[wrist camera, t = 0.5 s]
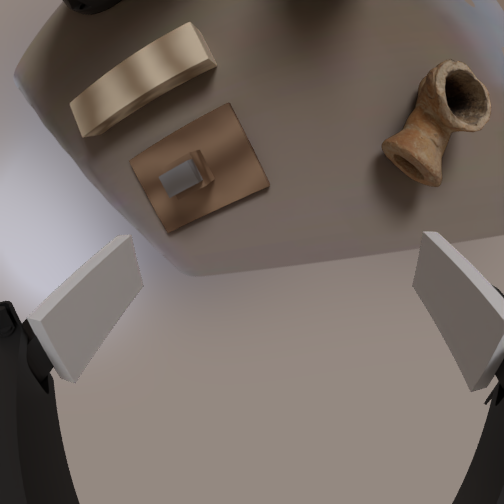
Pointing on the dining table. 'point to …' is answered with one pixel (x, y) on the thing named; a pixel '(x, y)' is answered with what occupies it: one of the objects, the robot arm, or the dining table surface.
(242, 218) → the dining table surface
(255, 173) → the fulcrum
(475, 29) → the dining table surface
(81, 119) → the beech bar
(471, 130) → the pipe
